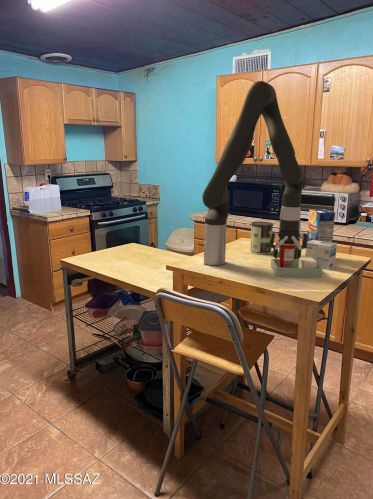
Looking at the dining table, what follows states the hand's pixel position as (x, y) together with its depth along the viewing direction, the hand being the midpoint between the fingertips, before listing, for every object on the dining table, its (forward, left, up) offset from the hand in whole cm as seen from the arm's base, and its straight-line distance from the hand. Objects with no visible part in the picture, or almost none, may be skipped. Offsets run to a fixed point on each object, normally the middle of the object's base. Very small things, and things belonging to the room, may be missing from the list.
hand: (286, 258), depth 153 cm
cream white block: (+8, 0, -5) cm, 10 cm away
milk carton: (+6, +23, -6) cm, 25 cm away
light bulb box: (+16, +9, -6) cm, 19 cm away
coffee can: (-5, +33, -6) cm, 34 cm away
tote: (+4, 0, -6) cm, 7 cm away
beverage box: (+19, +22, -6) cm, 30 cm away
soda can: (0, 0, -6) cm, 6 cm away
